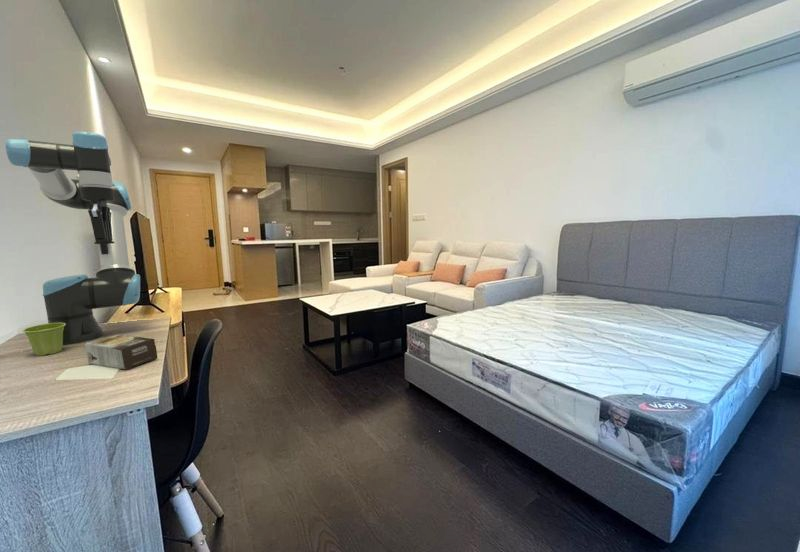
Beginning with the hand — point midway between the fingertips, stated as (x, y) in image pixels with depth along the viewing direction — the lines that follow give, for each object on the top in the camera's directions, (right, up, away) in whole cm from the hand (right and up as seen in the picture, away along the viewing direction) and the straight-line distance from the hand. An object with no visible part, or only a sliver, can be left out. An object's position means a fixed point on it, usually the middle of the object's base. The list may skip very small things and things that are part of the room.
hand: (107, 264), depth 102 cm
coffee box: (+1, -25, -3) cm, 26 cm away
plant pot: (-22, -29, +4) cm, 37 cm away
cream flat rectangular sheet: (+8, -31, -15) cm, 35 cm away
